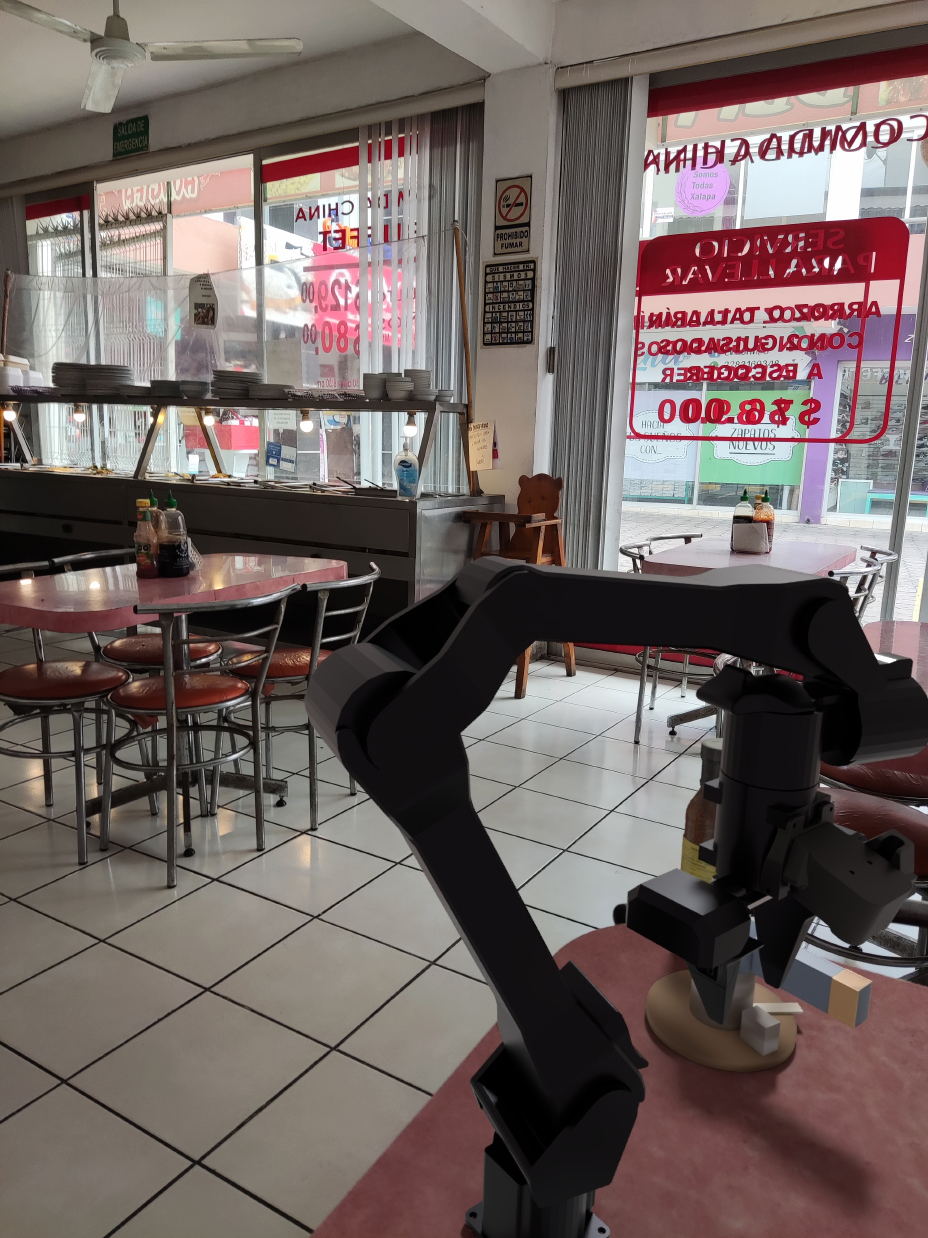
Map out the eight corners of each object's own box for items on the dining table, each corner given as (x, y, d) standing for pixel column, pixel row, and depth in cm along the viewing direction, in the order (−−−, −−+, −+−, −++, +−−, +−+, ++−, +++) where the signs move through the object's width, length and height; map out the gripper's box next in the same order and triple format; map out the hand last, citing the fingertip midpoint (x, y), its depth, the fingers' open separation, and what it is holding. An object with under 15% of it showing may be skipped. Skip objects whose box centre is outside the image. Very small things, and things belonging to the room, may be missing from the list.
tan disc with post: (738, 1094, 66) (745, 1020, 65) (616, 1012, 75) (621, 946, 74) (824, 1031, 73) (832, 963, 72) (704, 964, 82) (709, 902, 81)
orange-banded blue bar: (673, 948, 73) (675, 913, 73) (717, 925, 77) (720, 892, 76) (838, 1041, 62) (843, 1002, 62) (881, 1009, 66) (886, 972, 65)
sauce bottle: (744, 961, 83) (764, 759, 79) (676, 952, 84) (692, 753, 80) (738, 925, 89) (755, 736, 86) (674, 917, 91) (688, 731, 87)
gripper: (807, 865, 42) (775, 1148, 45) (973, 781, 54) (939, 1012, 57) (628, 791, 51) (611, 1034, 54) (805, 732, 62) (783, 935, 65)
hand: (745, 1002), depth 57 cm, fingers open, 6 cm apart
